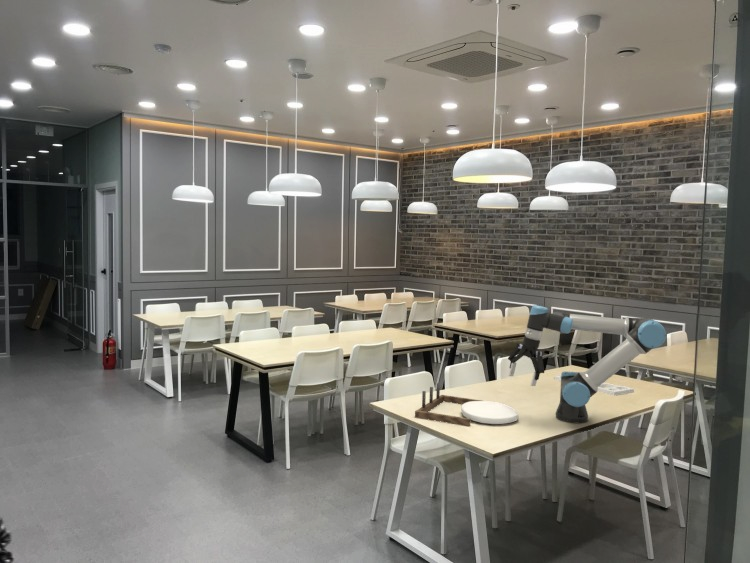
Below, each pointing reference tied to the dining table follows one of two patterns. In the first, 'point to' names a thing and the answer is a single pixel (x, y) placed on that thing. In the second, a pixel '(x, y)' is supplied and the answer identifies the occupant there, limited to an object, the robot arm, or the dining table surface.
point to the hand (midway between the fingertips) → (521, 380)
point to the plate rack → (439, 399)
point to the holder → (609, 388)
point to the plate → (489, 412)
